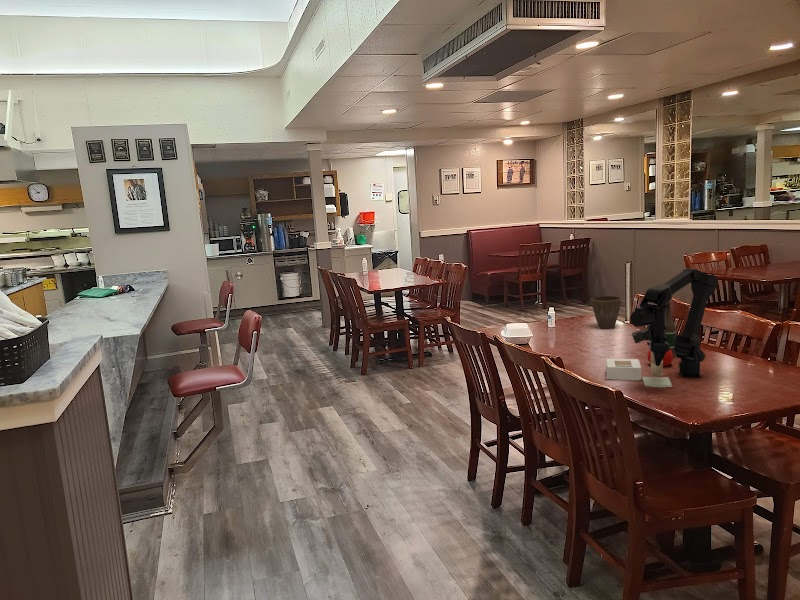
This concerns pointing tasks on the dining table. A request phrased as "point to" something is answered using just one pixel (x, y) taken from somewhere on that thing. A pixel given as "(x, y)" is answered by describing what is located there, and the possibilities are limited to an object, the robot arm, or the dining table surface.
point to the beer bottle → (670, 330)
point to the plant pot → (606, 310)
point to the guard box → (623, 369)
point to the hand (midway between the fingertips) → (656, 364)
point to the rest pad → (657, 381)
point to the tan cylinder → (656, 367)
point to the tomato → (666, 359)
